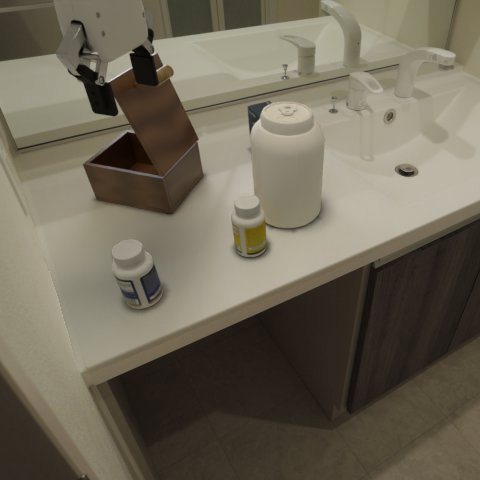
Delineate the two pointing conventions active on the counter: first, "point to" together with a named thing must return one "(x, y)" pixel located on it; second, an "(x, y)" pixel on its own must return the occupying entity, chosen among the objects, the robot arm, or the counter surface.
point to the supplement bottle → (249, 226)
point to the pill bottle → (136, 274)
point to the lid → (156, 116)
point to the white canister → (288, 164)
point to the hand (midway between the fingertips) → (128, 98)
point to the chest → (141, 175)
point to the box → (255, 113)
